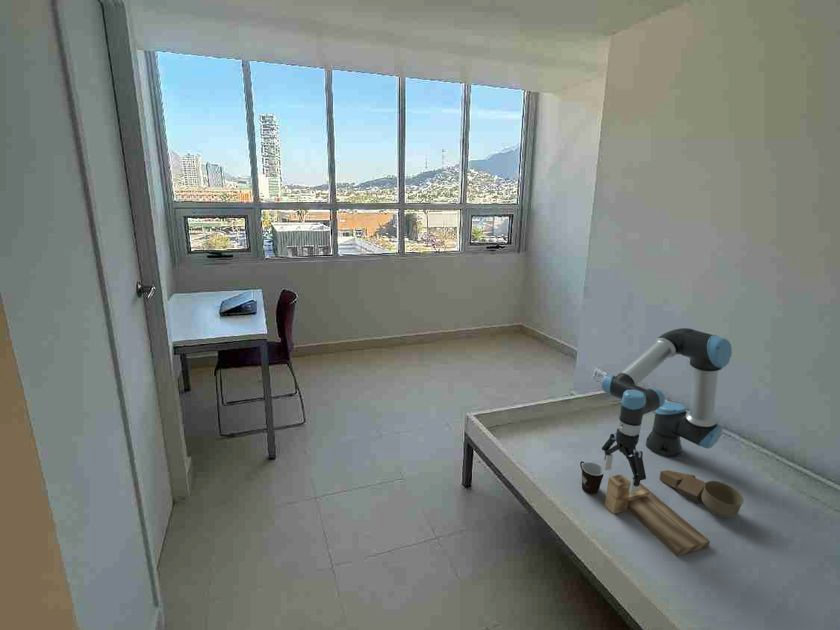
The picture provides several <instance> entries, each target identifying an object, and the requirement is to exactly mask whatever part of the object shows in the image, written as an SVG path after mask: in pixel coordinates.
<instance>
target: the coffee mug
mask: <svg viewBox="0 0 840 630" xmlns="http://www.w3.org/2000/svg"><path fill="white" fill-rule="evenodd" d="M579 466H580V469H581V489H582V491H584V493H586V494H588V495H597V494H598V493H599V490H600V487H601V484H602V481H603V478H604V475H605V470H604V466H602V465H600V464H598V463H596V462H591V461H590V462H589V461H587V462H584V461H580V465H579Z"/></svg>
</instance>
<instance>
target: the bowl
mask: <svg viewBox="0 0 840 630" xmlns="http://www.w3.org/2000/svg"><path fill="white" fill-rule="evenodd" d="M705 482H706V483H705V484H704V490H703V492H702V496H701V497H702V499H701V501H702V502H703V505H704V506H705V507H706V508H707V509H708V510H709V512H710V513H712V514H713V515H715V516H718V517H725V518H727V517H728V518H729V517H734V516H736V515H738V513H739V512H740V509H741V506H742V505H743V504H744V497H743V495H742V494H741V493H740V492H739V491H738V490H737V489H736V488H734V487H733V486H730V485H729V484H726V483H724V482H721V481H716V480H709V481H705Z"/></svg>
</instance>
